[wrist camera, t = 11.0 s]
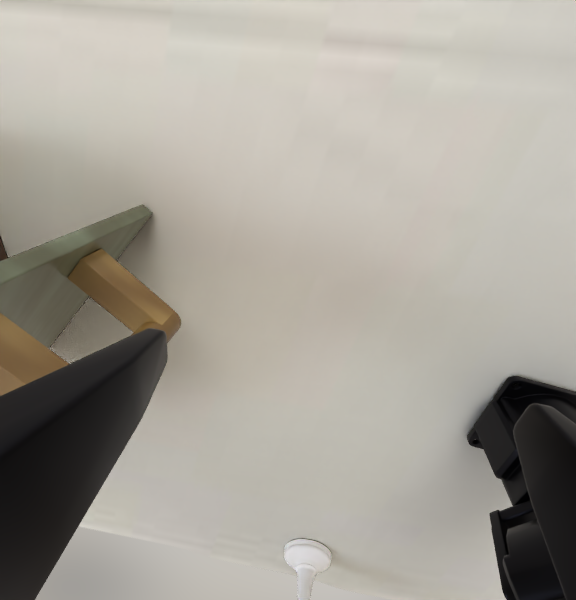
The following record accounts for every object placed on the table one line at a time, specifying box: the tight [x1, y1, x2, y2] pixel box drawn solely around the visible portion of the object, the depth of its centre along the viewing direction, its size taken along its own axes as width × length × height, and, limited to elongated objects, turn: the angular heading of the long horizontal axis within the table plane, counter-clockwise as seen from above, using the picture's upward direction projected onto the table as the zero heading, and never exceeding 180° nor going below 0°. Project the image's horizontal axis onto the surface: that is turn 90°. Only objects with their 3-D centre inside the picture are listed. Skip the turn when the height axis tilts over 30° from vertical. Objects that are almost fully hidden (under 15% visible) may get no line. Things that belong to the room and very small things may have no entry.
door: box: [0, 204, 181, 396], centre depth 19 cm, size 7×16×14 cm, turn 135°
